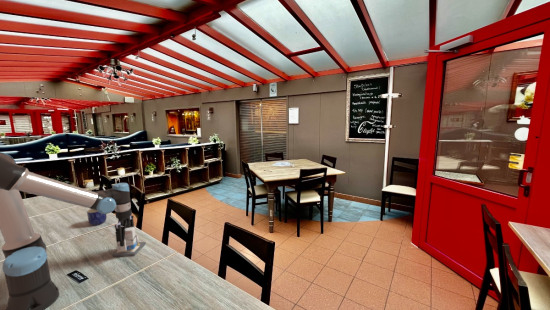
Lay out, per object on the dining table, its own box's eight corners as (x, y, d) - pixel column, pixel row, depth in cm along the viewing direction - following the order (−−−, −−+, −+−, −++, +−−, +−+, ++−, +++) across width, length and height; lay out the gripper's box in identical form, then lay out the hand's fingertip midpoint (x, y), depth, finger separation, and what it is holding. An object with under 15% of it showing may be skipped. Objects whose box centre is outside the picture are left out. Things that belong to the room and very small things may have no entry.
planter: (104, 225, 161) (102, 211, 159) (86, 227, 157) (84, 213, 155) (109, 219, 171) (107, 205, 169) (92, 221, 167) (90, 207, 165)
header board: (134, 255, 124) (133, 243, 123) (112, 256, 124) (111, 244, 122) (145, 244, 136) (144, 233, 135) (126, 244, 135) (124, 233, 134)
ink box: (137, 245, 130) (135, 226, 129) (133, 249, 125) (132, 230, 124) (120, 247, 128) (119, 228, 127) (117, 251, 123) (115, 232, 122)
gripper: (119, 216, 115) (123, 256, 118) (139, 203, 133) (142, 239, 136) (104, 216, 114) (109, 257, 117) (126, 204, 133) (130, 239, 136)
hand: (127, 247), depth 127 cm, fingers closed on ink box, 6 cm apart
